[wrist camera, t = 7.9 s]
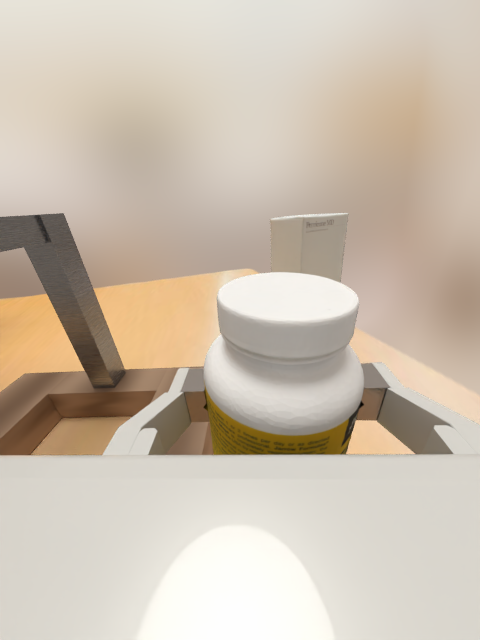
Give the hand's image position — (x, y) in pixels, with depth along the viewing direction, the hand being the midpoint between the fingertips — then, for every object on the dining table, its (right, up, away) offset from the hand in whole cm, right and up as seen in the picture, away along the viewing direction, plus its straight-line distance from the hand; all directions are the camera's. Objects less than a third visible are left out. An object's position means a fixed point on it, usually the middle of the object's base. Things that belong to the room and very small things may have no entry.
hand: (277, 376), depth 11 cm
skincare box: (+8, +2, +24) cm, 26 cm away
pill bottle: (0, -6, +2) cm, 7 cm away
